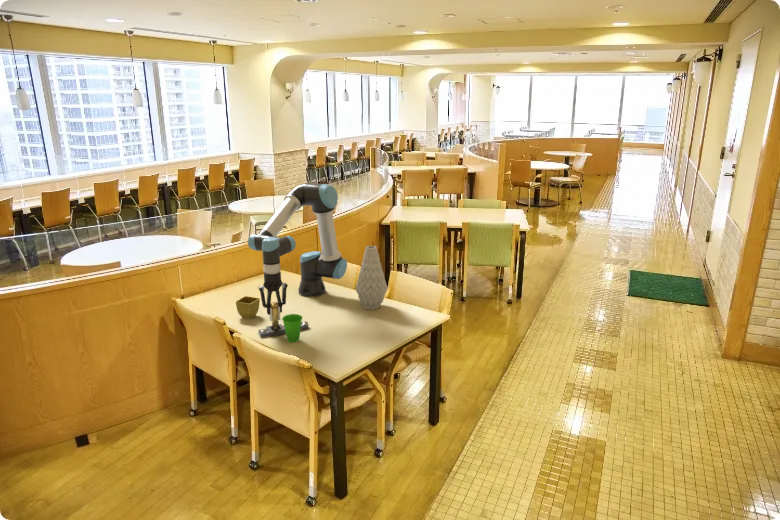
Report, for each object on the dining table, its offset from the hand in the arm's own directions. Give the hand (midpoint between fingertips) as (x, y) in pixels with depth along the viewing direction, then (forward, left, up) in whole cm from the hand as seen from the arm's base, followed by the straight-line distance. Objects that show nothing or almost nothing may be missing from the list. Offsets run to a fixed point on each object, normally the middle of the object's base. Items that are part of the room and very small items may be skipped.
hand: (275, 319), depth 247 cm
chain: (-4, 0, -7) cm, 8 cm away
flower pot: (+7, -25, -7) cm, 27 cm away
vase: (-54, -10, -7) cm, 55 cm away
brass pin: (0, 0, -4) cm, 4 cm away
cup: (-5, +12, -7) cm, 14 cm away
